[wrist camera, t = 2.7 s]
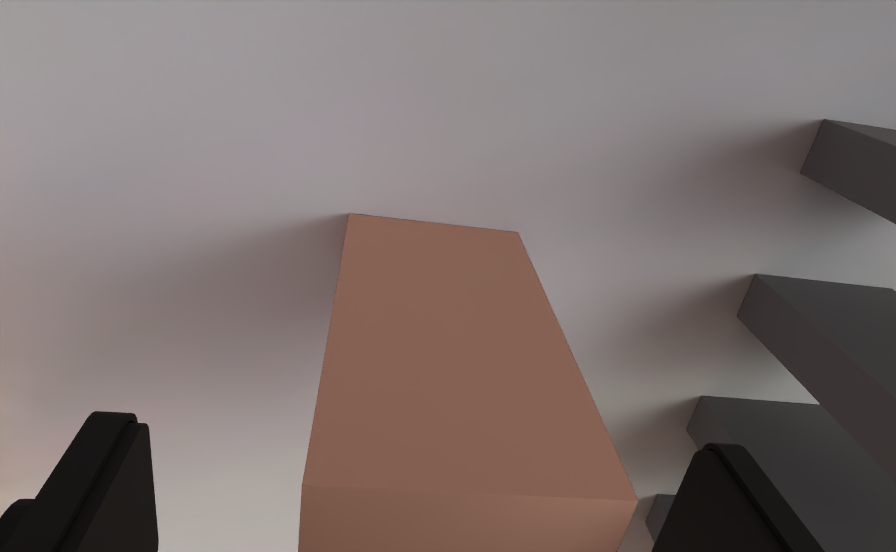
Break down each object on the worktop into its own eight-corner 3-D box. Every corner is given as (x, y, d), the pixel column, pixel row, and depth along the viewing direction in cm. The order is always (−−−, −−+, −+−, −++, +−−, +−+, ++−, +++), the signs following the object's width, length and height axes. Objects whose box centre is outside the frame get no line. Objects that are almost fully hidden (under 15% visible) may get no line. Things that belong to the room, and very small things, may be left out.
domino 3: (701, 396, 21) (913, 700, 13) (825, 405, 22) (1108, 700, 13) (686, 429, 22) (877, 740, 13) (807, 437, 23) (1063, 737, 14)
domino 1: (349, 213, 17) (301, 484, 8) (517, 232, 18) (638, 500, 9) (345, 262, 18) (297, 560, 9) (507, 279, 19) (609, 570, 10)
